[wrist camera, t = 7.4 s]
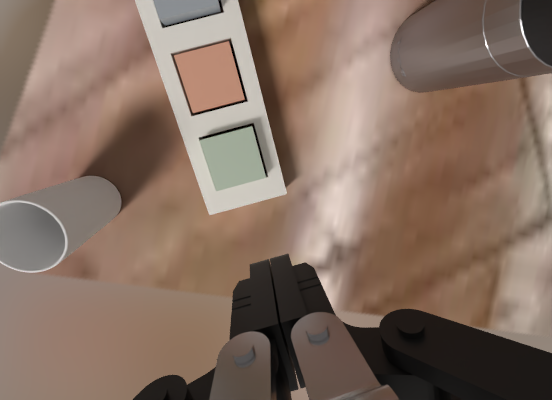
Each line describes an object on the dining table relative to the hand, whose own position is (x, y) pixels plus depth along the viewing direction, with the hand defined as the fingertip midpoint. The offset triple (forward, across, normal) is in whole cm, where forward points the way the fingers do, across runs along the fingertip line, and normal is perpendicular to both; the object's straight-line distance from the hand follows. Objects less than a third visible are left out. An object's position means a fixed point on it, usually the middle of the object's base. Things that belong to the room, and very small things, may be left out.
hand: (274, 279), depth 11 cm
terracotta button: (+26, +2, -11) cm, 29 cm away
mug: (+27, +22, -1) cm, 35 cm away
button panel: (+27, +2, -11) cm, 29 cm away
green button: (+25, +2, -2) cm, 25 cm away
